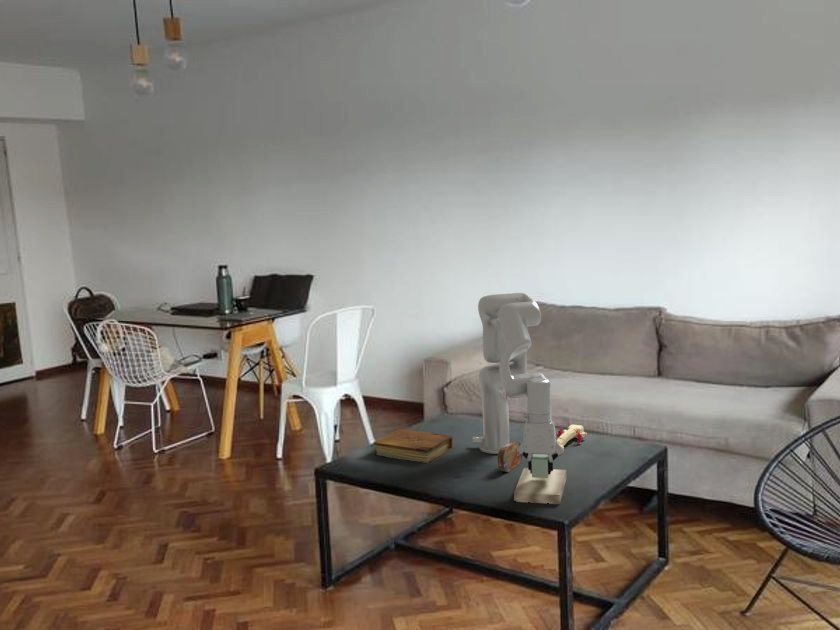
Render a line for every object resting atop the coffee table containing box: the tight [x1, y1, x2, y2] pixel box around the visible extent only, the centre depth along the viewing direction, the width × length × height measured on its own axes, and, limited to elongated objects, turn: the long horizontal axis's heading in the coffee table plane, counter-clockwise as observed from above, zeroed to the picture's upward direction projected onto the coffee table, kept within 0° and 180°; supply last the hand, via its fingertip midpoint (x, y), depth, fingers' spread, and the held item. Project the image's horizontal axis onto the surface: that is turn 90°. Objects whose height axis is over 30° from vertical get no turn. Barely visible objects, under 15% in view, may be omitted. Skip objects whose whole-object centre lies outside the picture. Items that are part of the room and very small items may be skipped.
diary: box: [373, 428, 454, 464], centre depth 304 cm, size 23×19×6 cm
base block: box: [513, 467, 567, 505], centre depth 261 cm, size 14×22×3 cm, turn 165°
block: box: [532, 454, 549, 478], centre depth 260 cm, size 5×5×6 cm
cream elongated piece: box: [555, 423, 588, 453], centre depth 304 cm, size 10×9×25 cm
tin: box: [497, 441, 523, 473], centre depth 282 cm, size 15×3×8 cm, turn 148°
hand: (540, 471), depth 260 cm, fingers closed on block, 5 cm apart
